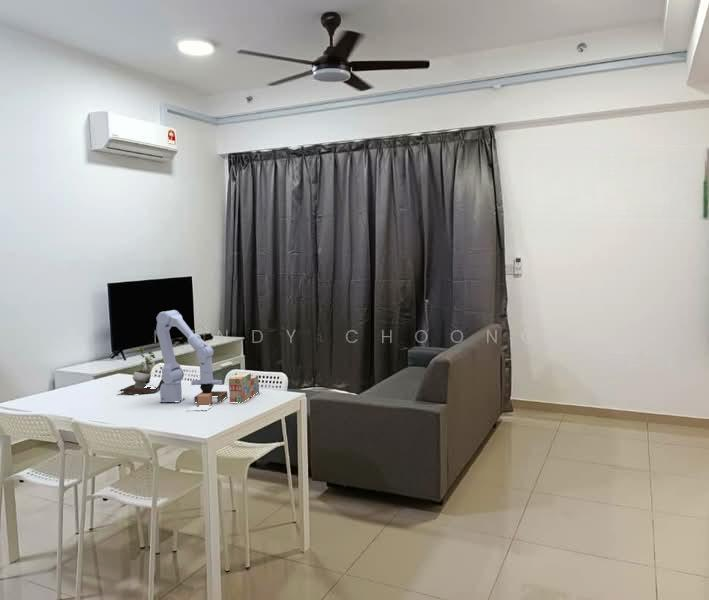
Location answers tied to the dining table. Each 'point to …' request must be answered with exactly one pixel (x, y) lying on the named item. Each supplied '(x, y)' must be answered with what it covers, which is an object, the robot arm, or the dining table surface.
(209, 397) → the cube
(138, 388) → the potted plant
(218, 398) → the cubby
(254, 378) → the stack of blocks
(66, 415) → the dining table surface
